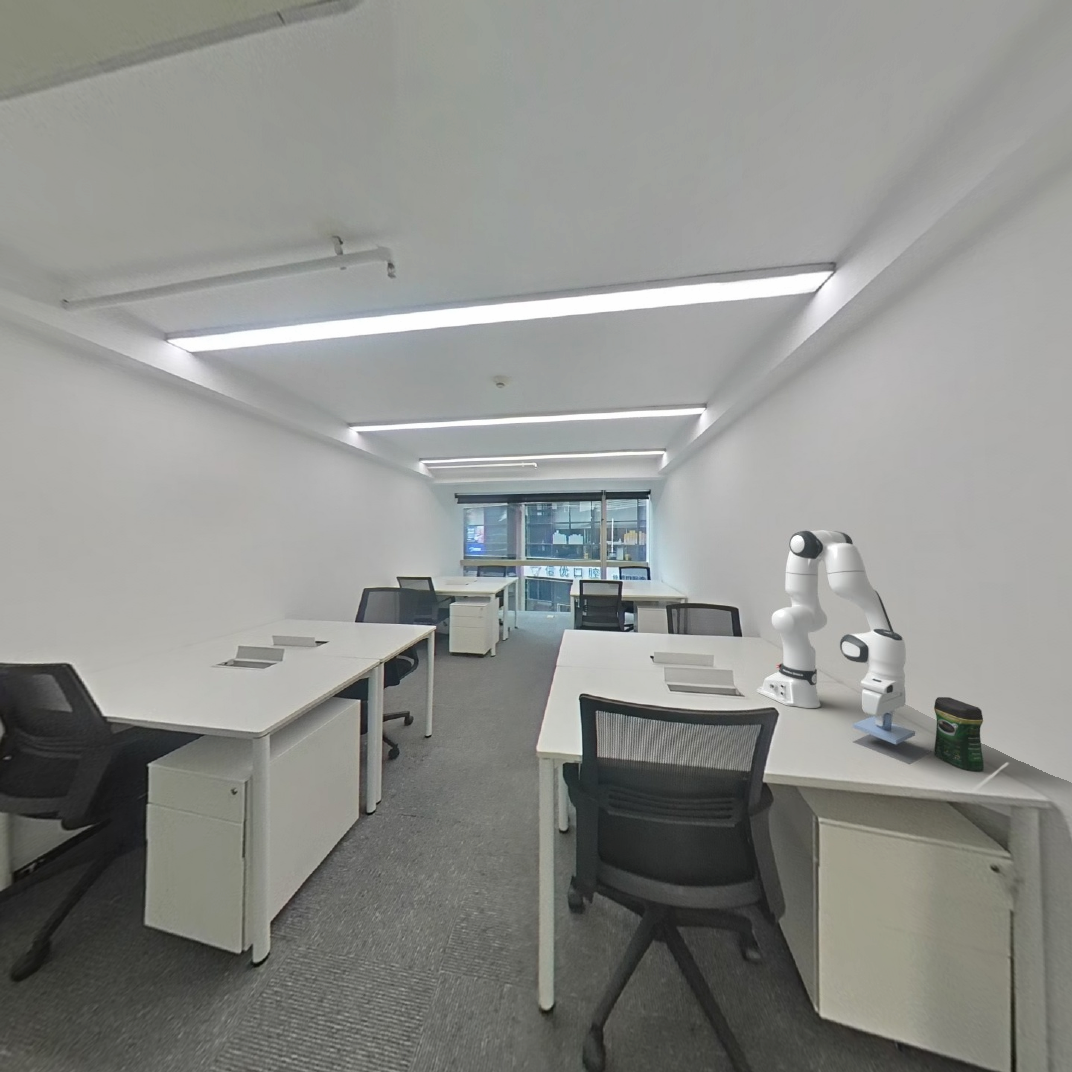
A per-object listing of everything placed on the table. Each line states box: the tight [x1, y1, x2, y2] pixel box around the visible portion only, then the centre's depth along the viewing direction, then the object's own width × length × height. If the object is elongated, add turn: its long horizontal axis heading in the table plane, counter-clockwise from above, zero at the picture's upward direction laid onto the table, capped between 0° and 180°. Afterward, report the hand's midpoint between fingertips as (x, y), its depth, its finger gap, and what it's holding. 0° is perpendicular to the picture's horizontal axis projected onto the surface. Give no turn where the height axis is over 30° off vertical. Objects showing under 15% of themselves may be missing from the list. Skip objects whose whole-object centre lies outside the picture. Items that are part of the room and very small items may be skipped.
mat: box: [852, 734, 932, 765], centre depth 122 cm, size 14×16×1 cm
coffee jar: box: [933, 696, 984, 772], centre depth 114 cm, size 10×8×19 cm
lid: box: [852, 713, 916, 744], centre depth 124 cm, size 11×13×6 cm
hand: (883, 723), depth 124 cm, fingers closed on lid, 4 cm apart
